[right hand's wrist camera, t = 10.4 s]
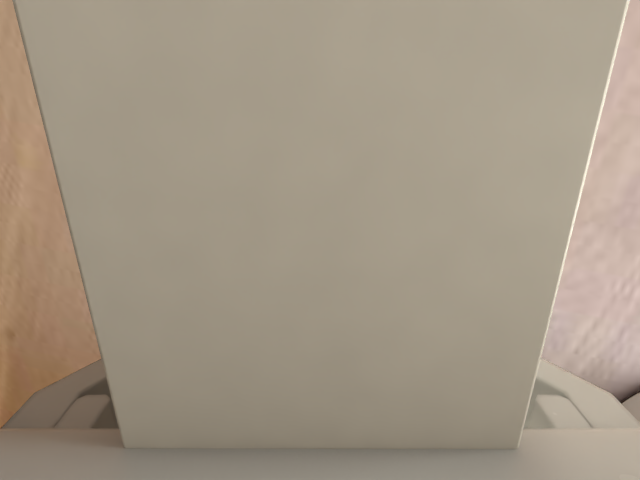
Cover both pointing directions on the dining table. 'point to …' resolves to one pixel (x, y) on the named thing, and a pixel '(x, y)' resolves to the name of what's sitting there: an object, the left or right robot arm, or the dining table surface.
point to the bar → (321, 207)
